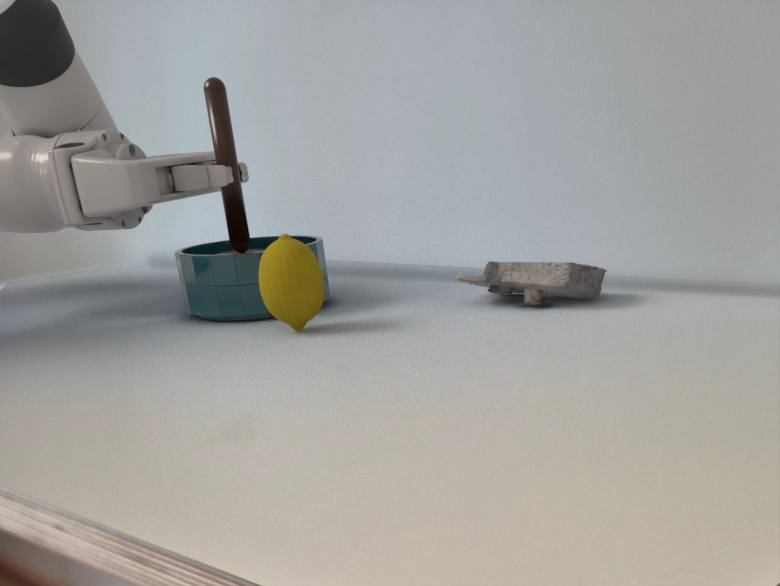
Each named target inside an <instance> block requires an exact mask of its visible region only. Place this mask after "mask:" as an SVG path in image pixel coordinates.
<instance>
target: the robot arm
mask: <svg viewBox="0 0 780 586" xmlns="http://www.w3.org/2000/svg"><path fill="white" fill-rule="evenodd" d="M83 61H84V60H83V59H82V57H81V56H80V54H79V52H78V50H77V49H76V47H75V44H74V40H73V38H72V36H71V34H70V32H69V29H68V27H67V24H66V22H65V20H64V18H63V16H62V14H61V12H60V10H59V7H58V6H57V4H56V3H55V2H54V1H53V0H0V113H1V115H2V117H3V118H4V120H5V121H6V123H7V125H8V126H9V127H10V129H9V130H8V131H7V132H6V133H5V134H4V135H2V136H1V137H0V232H3V233H14V234H15V233H16V234H45V233H55V232H59V231H62V230H64V229H66V228H68V229H69V228H72V229H75V230H79V231H86V232H93V231H116V230H117V231H118V230H121V231H122V230H132V229H135V228H137V227H138V226H139V225H140V224H141V223H142V221H143V220H144V217H145V215H147V214H148V213H150V212H151V210H152V209H153V206H154V205H158V204H163V203H168V202H173V201H179V200H183V199H184V200H185V199H189V198H193V197H199V196H204V195H210V194H215V193H221V188H220V187H224V186H229V185H232V184H233V182H234V179H233V176H232V168H231V166H229V165H216V159H215V153H214V150H211V151H195V152H180V153H168V154H167V153H166V154H159V155H158V154H157V155H150V156H149V155H148V156H147V154H146V153H145V152H144V150H142V148H141V147H140V146H139V145H138V144H135V143H133V142H131V141H130V140H129V138H128V137H127V136H126V135H125V134H124V133H122V132H121V131H119V128H118V126H117V124H116V121H115V119H114V118H113V116H112V114H111V112H110V110H109V108H108V107H107V105H106V103H105V101H104V100H103V97H102V95H101V93H100V91H99V89H98V87H97V85H96V83H95V81H94V80H93V78H92V76H91V74H90V72H89V71H88V68H87V67H86V65H85V63H84V62H83ZM238 166H239V173H240V179H241V184H244V183H247V182H249V178H250V176H249V170H248V165H247V164H246V163H245V162H243V161H238Z"/></svg>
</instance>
